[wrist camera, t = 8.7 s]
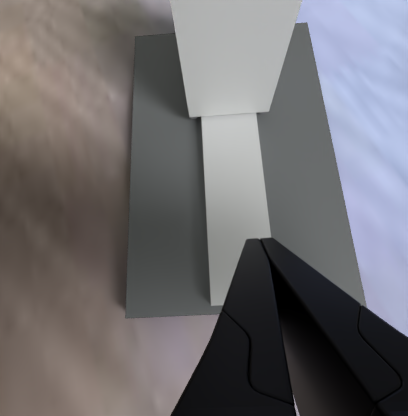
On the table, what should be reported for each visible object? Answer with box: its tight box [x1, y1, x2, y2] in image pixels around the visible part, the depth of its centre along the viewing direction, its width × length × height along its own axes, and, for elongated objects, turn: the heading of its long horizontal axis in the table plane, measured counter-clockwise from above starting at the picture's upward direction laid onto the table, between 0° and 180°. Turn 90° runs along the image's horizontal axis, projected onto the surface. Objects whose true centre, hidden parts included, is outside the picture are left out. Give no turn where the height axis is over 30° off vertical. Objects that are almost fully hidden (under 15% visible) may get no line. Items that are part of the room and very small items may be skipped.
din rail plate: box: [125, 23, 367, 318], centre depth 16 cm, size 20×13×4 cm, turn 3°
